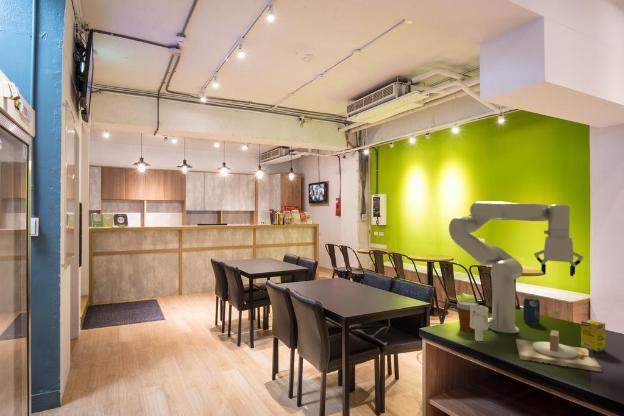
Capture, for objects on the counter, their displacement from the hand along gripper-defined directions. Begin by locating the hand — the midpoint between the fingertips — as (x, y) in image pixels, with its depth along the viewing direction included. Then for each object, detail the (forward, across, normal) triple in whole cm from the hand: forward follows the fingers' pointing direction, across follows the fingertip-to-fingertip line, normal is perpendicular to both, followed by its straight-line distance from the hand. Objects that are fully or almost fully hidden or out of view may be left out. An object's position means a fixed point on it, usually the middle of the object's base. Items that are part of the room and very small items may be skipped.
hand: (557, 274), depth 158 cm
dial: (+26, -2, -20) cm, 33 cm away
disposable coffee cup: (+28, -34, 0) cm, 45 cm away
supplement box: (+28, +12, -4) cm, 31 cm away
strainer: (+28, -29, -15) cm, 43 cm away
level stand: (+28, -3, -20) cm, 34 cm away
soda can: (+28, -7, +28) cm, 41 cm away
